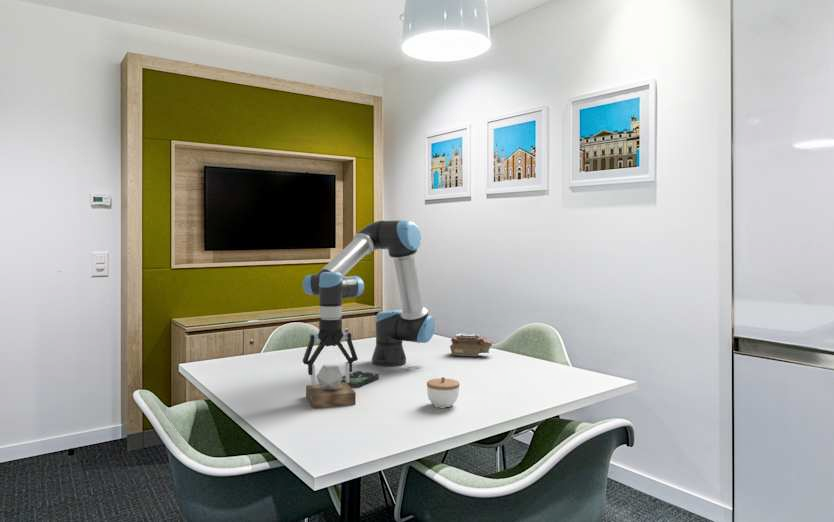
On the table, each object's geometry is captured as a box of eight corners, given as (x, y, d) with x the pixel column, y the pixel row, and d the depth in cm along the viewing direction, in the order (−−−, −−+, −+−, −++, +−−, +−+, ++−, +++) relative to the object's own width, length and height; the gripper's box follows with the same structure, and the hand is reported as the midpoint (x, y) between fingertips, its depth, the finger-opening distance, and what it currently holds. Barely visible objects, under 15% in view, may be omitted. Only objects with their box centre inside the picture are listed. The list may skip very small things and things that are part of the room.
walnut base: (345, 393, 198) (346, 382, 198) (355, 404, 185) (355, 392, 185) (306, 396, 194) (306, 385, 193) (312, 408, 180) (313, 396, 180)
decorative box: (455, 351, 275) (456, 331, 275) (496, 354, 269) (496, 334, 268) (447, 356, 263) (448, 335, 263) (489, 360, 256) (490, 338, 256)
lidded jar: (425, 401, 190) (425, 373, 190) (456, 400, 191) (456, 373, 191) (428, 410, 179) (428, 381, 179) (461, 410, 180) (461, 381, 180)
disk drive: (356, 377, 224) (335, 385, 210) (356, 370, 223) (335, 378, 210) (379, 380, 219) (358, 389, 206) (379, 373, 219) (359, 381, 206)
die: (330, 396, 183) (347, 370, 186) (309, 381, 184) (326, 356, 187) (333, 397, 191) (349, 373, 194) (312, 383, 192) (329, 359, 195)
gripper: (361, 315, 196) (361, 377, 197) (293, 317, 188) (293, 383, 189) (367, 318, 189) (366, 383, 190) (296, 321, 181) (296, 388, 182)
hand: (330, 383), depth 189 cm, fingers open, 11 cm apart
